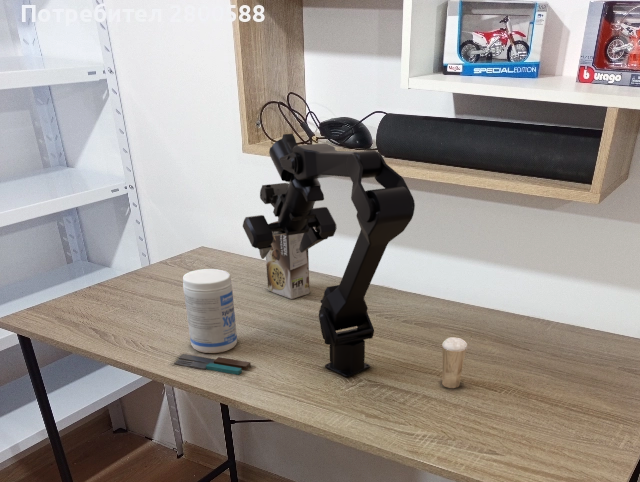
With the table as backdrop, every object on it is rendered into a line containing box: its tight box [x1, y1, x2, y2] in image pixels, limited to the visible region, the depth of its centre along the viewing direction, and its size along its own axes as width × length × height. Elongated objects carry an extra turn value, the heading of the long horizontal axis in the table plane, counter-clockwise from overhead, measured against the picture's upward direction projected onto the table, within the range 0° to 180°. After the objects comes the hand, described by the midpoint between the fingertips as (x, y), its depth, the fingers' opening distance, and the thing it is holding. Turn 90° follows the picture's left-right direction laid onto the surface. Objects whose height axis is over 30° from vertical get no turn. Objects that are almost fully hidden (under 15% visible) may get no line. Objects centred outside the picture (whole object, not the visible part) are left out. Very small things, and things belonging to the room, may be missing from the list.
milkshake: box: [441, 336, 472, 389], centre depth 126 cm, size 4×5×10 cm
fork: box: [173, 358, 243, 376], centre depth 133 cm, size 14×2×1 cm, turn 71°
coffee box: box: [265, 220, 311, 300], centre depth 164 cm, size 9×6×16 cm
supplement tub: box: [182, 268, 238, 354], centre depth 138 cm, size 10×10×15 cm
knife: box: [178, 353, 252, 371], centre depth 135 cm, size 15×2×1 cm, turn 71°
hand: (281, 253), depth 145 cm, fingers open, 9 cm apart
